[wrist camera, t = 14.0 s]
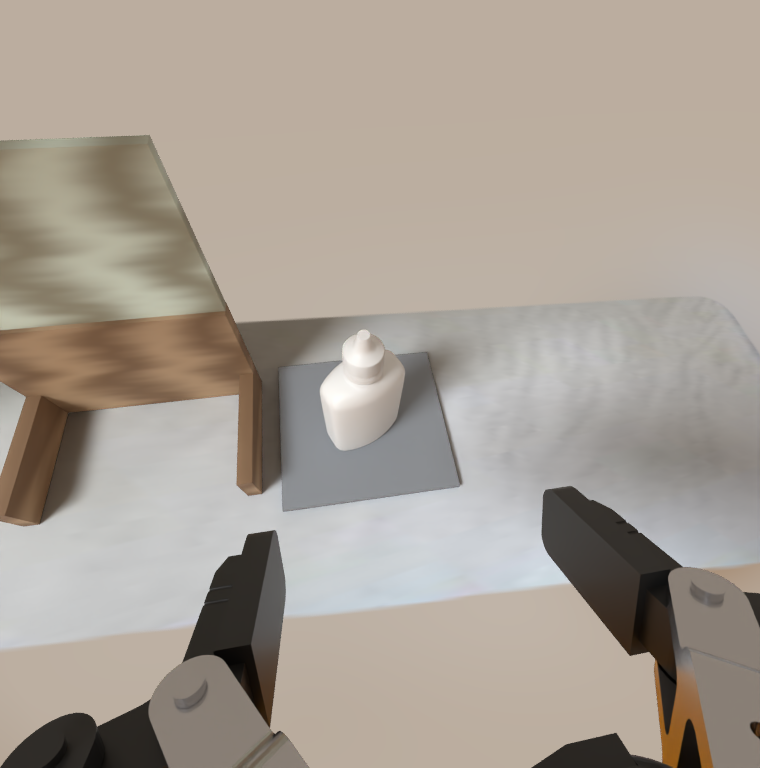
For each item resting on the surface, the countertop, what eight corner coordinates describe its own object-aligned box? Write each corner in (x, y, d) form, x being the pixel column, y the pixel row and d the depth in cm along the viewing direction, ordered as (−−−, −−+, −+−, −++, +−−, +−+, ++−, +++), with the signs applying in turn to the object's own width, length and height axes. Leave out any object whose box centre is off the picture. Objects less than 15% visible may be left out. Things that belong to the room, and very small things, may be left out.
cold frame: (23, 526, 27) (-616, 384, 9) (57, 403, 31) (-328, 151, 14) (262, 493, 28) (104, 322, 11) (261, 381, 33) (149, 133, 15)
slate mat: (283, 511, 28) (282, 510, 28) (279, 369, 34) (278, 367, 33) (458, 486, 29) (460, 485, 29) (426, 354, 35) (426, 351, 35)
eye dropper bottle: (326, 402, 32) (309, 304, 21) (394, 398, 32) (411, 301, 22) (327, 453, 30) (309, 373, 19) (400, 448, 30) (421, 367, 20)
